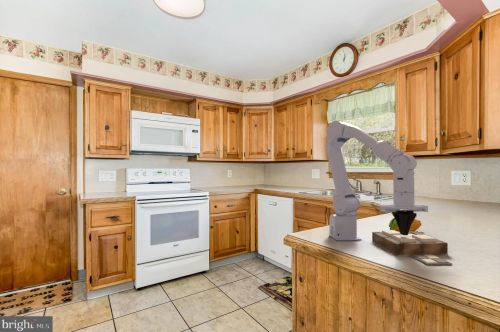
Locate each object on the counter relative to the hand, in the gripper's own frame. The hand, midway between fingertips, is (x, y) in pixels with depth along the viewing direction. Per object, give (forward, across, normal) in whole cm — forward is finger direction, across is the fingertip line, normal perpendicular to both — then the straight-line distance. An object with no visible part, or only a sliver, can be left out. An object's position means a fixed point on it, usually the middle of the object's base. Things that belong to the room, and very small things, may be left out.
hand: (404, 234), depth 80 cm
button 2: (+3, 0, 0) cm, 3 cm away
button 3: (+4, +6, +6) cm, 10 cm away
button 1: (+3, 0, +6) cm, 7 cm away
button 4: (+3, +6, 0) cm, 7 cm away
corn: (+6, +15, +20) cm, 26 cm away
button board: (+5, +3, +3) cm, 7 cm away
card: (+5, +2, -8) cm, 10 cm away
